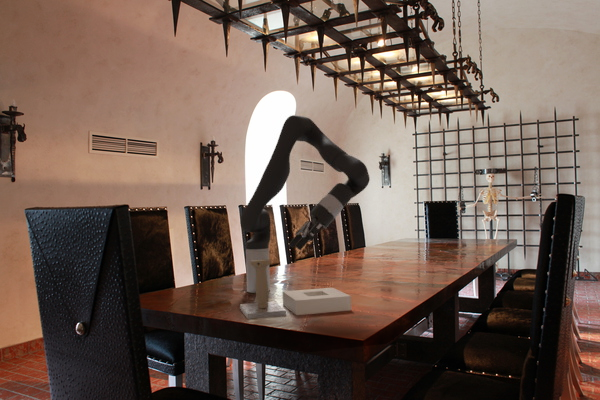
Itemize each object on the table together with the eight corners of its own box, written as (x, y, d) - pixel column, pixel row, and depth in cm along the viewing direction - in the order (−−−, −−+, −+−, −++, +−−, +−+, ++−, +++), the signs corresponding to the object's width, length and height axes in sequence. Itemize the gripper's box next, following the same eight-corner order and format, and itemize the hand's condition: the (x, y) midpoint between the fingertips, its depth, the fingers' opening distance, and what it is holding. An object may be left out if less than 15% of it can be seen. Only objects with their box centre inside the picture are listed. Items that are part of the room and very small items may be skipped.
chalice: (273, 299, 174) (272, 250, 175) (267, 303, 168) (266, 251, 168) (254, 299, 176) (253, 250, 177) (248, 303, 170) (246, 252, 170)
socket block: (283, 304, 165) (282, 291, 165) (332, 300, 170) (332, 287, 170) (296, 315, 148) (295, 300, 148) (351, 310, 152) (350, 296, 152)
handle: (270, 308, 150) (268, 260, 151) (251, 309, 152) (248, 261, 152) (274, 306, 155) (272, 259, 155) (255, 306, 156) (253, 260, 157)
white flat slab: (240, 308, 160) (239, 304, 160) (275, 305, 163) (275, 301, 163) (247, 318, 145) (247, 313, 145) (286, 315, 148) (286, 310, 148)
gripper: (312, 203, 166) (281, 238, 163) (325, 202, 152) (291, 240, 149) (327, 218, 167) (296, 253, 164) (341, 218, 153) (308, 256, 150)
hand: (294, 247), depth 156 cm, fingers open, 8 cm apart
